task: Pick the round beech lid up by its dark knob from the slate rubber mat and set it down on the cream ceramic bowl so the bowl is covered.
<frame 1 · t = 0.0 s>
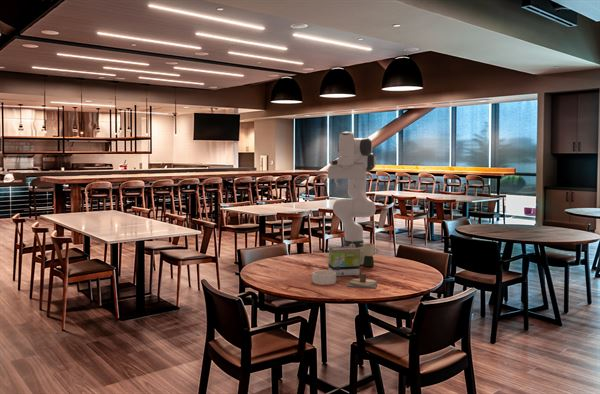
hand: (346, 187, 277), 48 cm above the table, fingers open, 8 cm apart
mat: (362, 284, 259), on the table
character mug: (368, 266, 301), on the table
bowl: (324, 282, 264), on the table
lid: (362, 283, 259), point 1 cm above the table, touching mat
tea box: (343, 274, 282), on the table
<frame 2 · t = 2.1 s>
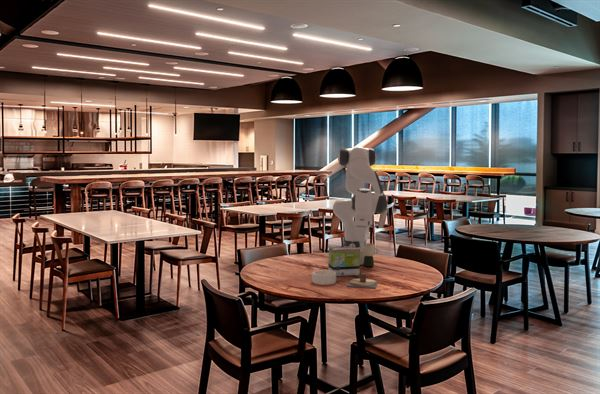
hand: (363, 247, 258), 19 cm above the table, fingers open, 8 cm apart
nothing on the table moved.
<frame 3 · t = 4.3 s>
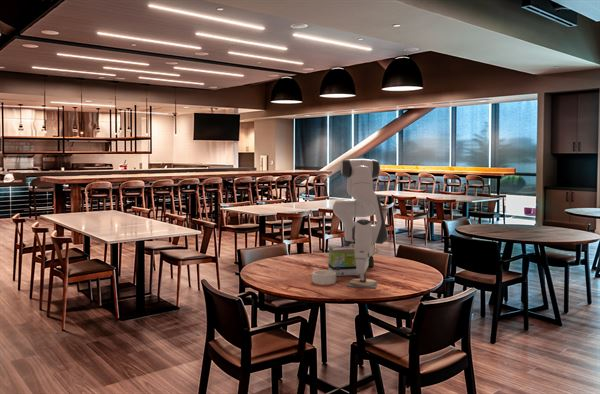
hand: (362, 278, 259), 3 cm above the table, fingers closed on lid, 3 cm apart
lid: (362, 283, 259), point 1 cm above the table, touching gripper, mat
everything else where it was.
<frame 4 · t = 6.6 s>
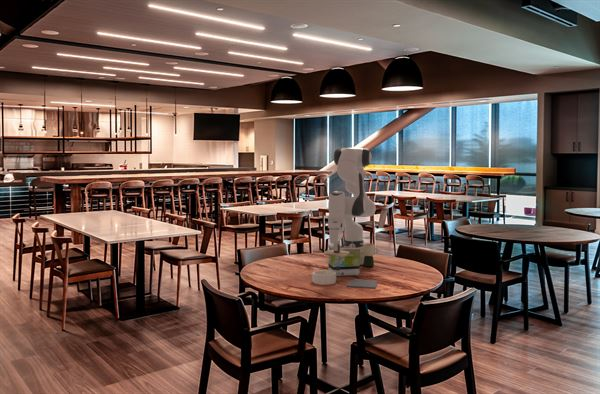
hand: (336, 249, 261), 17 cm above the table, fingers closed on lid, 3 cm apart
lid: (336, 253, 261), point 15 cm above the table, touching gripper
everything else where it was.
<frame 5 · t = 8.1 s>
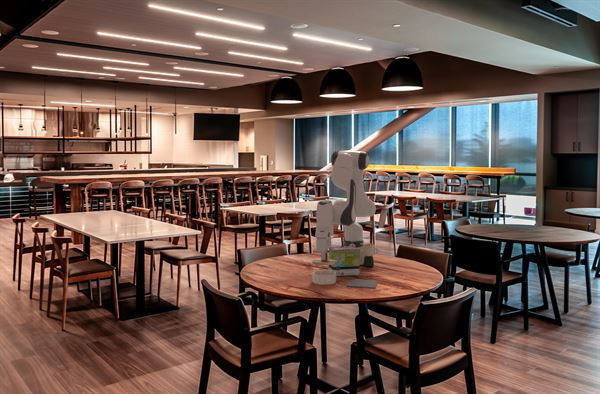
hand: (324, 258, 263), 12 cm above the table, fingers closed on lid, 3 cm apart
lid: (324, 262, 263), point 10 cm above the table, touching gripper
everything else where it was.
when the fingers open (8 cm above the table, at t = 9.1 s): lid stays where it is, resting on bowl.
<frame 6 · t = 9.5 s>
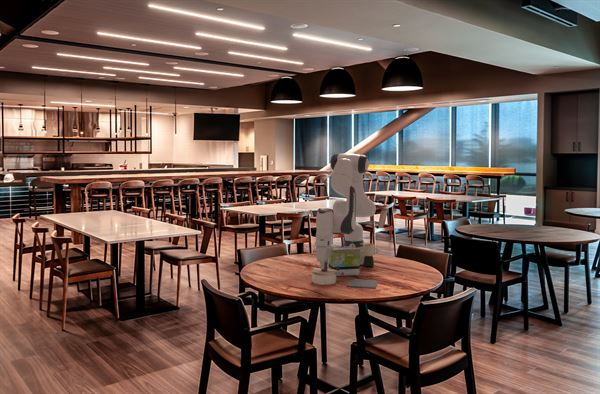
hand: (324, 266, 264), 8 cm above the table, fingers open, 7 cm apart
bowl: (324, 282, 264), on the table, touching lid
lid: (324, 272, 264), point 5 cm above the table, touching bowl
everything else where it was.
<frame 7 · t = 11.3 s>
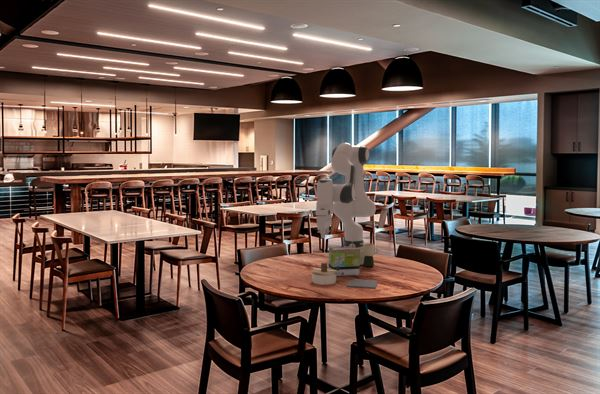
hand: (324, 236, 264), 23 cm above the table, fingers open, 8 cm apart
nothing on the table moved.
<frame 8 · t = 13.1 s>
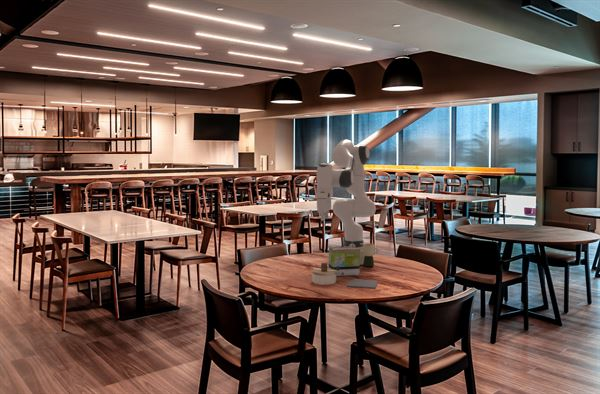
hand: (324, 219, 272), 31 cm above the table, fingers open, 8 cm apart
nothing on the table moved.
at the end: lid 0.1 cm off-centre on the bowl, point 5.0 cm above the bowl's base; lid tilted 0°; the gripper is holding nothing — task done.
